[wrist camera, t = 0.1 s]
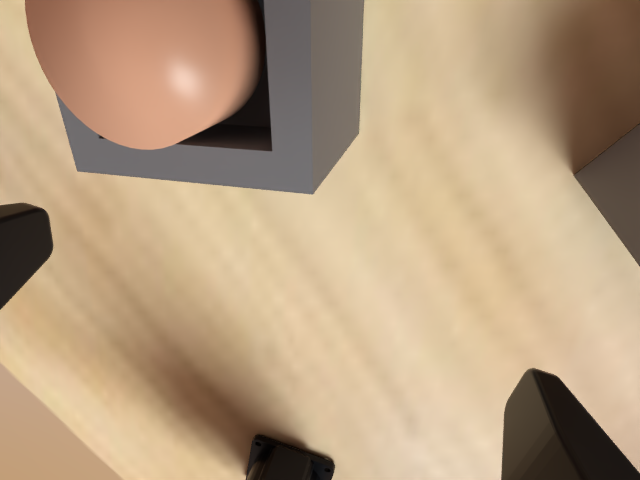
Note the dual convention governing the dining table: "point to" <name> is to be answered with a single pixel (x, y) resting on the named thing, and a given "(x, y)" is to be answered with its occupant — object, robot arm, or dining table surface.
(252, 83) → the terracotta button
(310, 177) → the terracotta button housing
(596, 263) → the dining table surface
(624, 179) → the grey button housing
